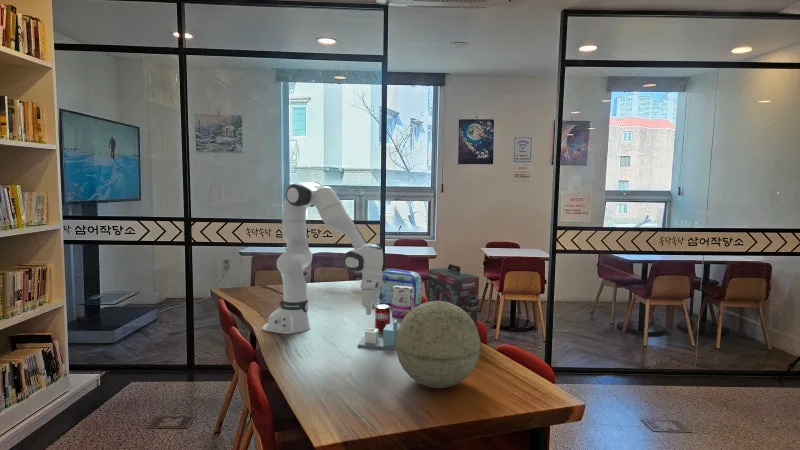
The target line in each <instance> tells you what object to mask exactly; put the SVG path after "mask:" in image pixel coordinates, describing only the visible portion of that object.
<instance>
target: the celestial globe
mask: <svg viewBox="0 0 800 450" xmlns="http://www.w3.org/2000/svg"><path fill="white" fill-rule="evenodd" d="M395 352H396V355H397V359H398V361H399V363H400V365H401V367H402V369H403V371H404V372H405V373H406V374H407V375H408V376H409V377H410V378H411V379H412V380H414V381H415V382H416V383H418V384H420V385H422V386H425V387H428V388H431V389H445V388H450V387H453V386H456V385H457V384H459V383H461V382H463V381H464V380H465V379H466V378H467V377H468V376H470V375H471V373H472V372H473V370H474V369H475V367H476V365H477V364H478V361H479V357H480V353H481V338H480V334H479V330H478V326H477V327H476V325H475V323H474V321H473V320H472V319H471V317H470V316H469V315H468V314H467V313H466V312H465V311H464V310H463V309H461V308H460V307H458V306H456V305H454V304H452V303H448V302H444V301H431V302H428V301H426V302H423V303H420V304H419V305H416V306H414V309H412V310H411V311H410V312H409V313H408V314H407V315H406V316H405V317H404V318H402V320H401V322H400V323H399V325H398V332H397V336H396V347H395Z"/></svg>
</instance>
